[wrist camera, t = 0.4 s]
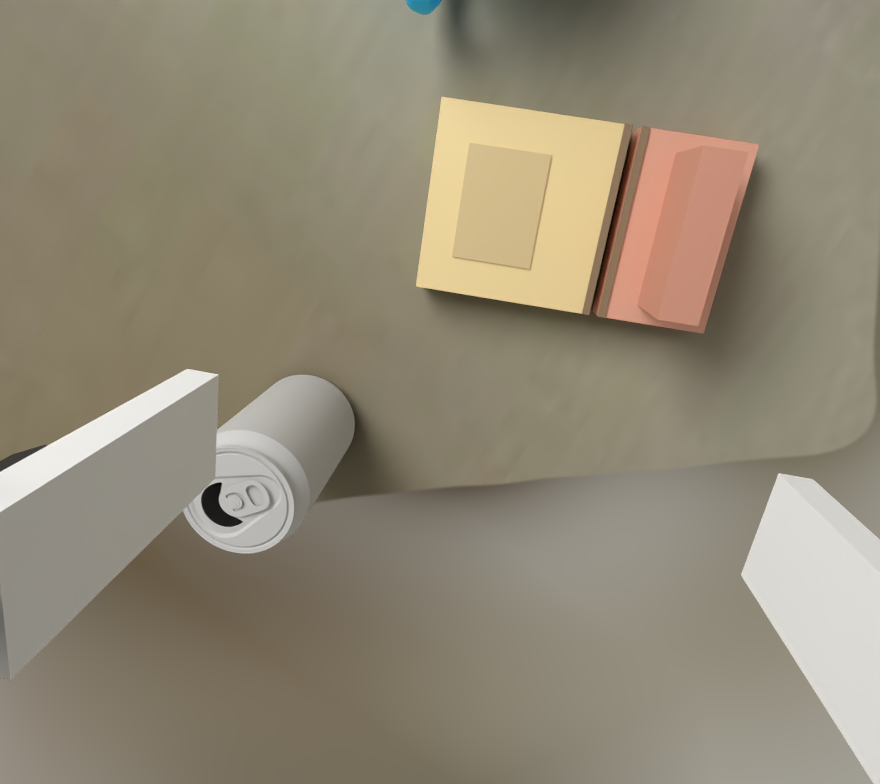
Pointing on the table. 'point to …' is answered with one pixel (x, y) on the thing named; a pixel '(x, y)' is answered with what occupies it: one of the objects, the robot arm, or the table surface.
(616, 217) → the pink stepped block
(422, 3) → the mug
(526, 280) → the tan flat square block
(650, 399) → the table surface
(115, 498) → the robot arm
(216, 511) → the beverage can
